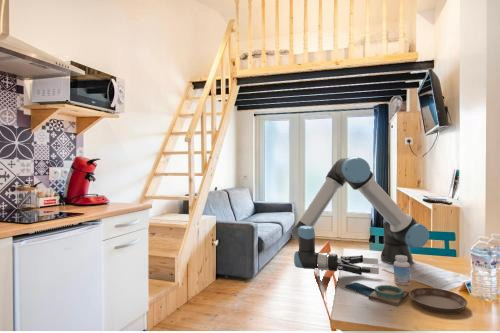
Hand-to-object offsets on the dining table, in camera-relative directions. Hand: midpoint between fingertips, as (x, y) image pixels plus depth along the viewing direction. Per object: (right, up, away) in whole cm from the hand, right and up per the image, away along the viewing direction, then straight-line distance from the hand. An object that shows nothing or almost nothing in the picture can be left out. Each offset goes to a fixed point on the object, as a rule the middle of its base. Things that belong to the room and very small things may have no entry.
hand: (378, 265), depth 138 cm
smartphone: (-10, -7, -11) cm, 16 cm away
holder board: (-3, -6, -17) cm, 18 cm away
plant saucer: (+11, -6, -25) cm, 28 cm away
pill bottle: (+9, -6, -3) cm, 11 cm away
